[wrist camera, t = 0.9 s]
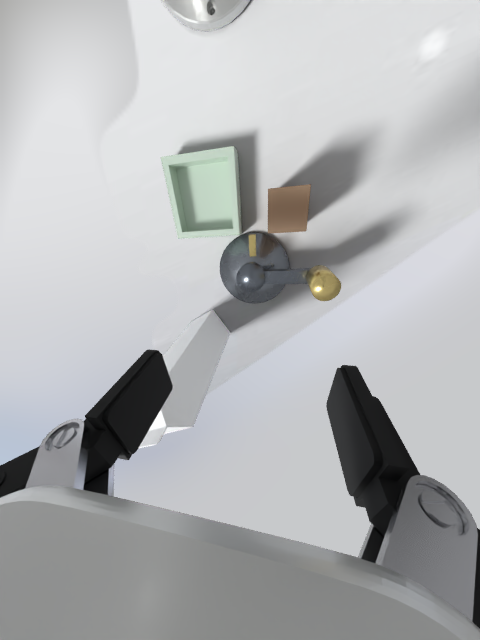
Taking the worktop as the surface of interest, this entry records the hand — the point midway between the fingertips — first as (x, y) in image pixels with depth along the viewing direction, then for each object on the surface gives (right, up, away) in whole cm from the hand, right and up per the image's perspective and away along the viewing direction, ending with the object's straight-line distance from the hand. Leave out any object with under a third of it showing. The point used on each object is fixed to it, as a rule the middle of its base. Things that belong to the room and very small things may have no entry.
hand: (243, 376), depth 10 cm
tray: (-5, +20, +15) cm, 26 cm away
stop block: (+6, +18, +15) cm, 24 cm away
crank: (+6, +9, +16) cm, 19 cm away
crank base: (+2, +11, +19) cm, 22 cm away
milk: (-6, +2, +26) cm, 27 cm away
